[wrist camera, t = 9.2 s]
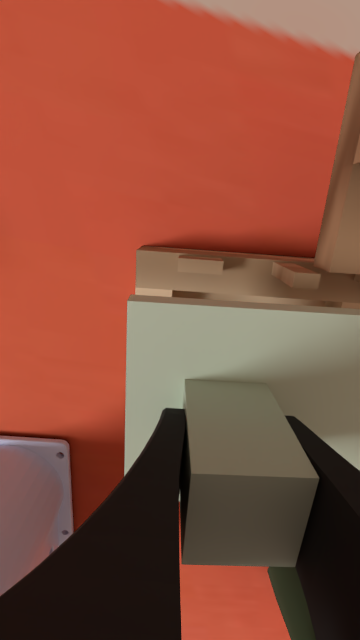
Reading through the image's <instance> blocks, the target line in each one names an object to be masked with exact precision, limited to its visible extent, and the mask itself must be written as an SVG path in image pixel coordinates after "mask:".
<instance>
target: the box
mask: <svg viewBox="0 0 360 640" xmlns="http://www.w3.org/2000/svg"><path fill="white" fill-rule="evenodd" d="M314 259H315V258H307V257H293V256H279V255H265V254H252V253H238V252H224V251H210V250H196V249H182V248H168V247H155V246H142V247H140V248H139V249H137V251H136V291H135V295H147V296H162V297H178V298H194V299H209V300H225V301H241V302H257V303H272V304H288V305H304V306H319V307H335V308H351V309H360V274H347V273H333V272H327V271H325V270H322V269H319V268H317V267H314V266H313V264H314Z"/></svg>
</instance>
